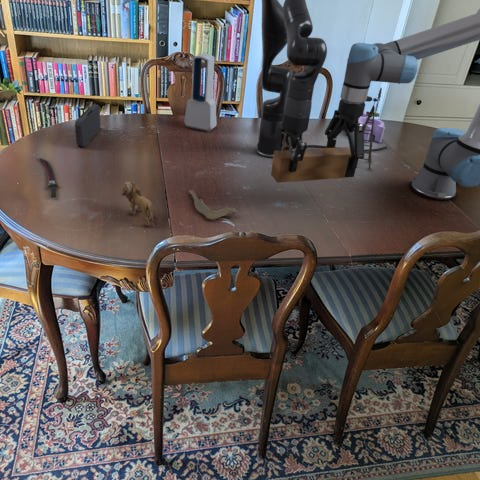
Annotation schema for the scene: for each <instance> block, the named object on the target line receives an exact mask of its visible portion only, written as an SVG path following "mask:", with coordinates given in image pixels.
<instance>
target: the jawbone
mask: <svg viewBox="0 0 480 480" xmlns="http://www.w3.org/2000/svg"><path fill="white" fill-rule="evenodd" d="M188 192H189V195H191V196H192V199H193V204H194V208H195V210H196V211H197V212H198V213H200V214H201V215H203V216H204V217H205V219H207V220H209V221H213V220H217V219H219V218H222V217H227V218H231V215H232V212H234V213H237V212H239V210H238V209H237V208H234V207H223V208H222V209H216V210H215V209H211V207H209V206H207V205H206V204H205V203H204V199H201V198H200V199H199V198H198V195H197V193H196V191H195V190H194V189H189V190H188Z"/></svg>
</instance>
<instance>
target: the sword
mask: <svg viewBox="0 0 480 480" xmlns="http://www.w3.org/2000/svg"><path fill="white" fill-rule="evenodd" d="M40 161H41V162H42V163H43V165H44V166H45V169H46V173H47V176H48V185H47V188H50V198H56V197H57V189H56V188H57V187H59V185H58V184H57V183H56V180H55V176H54V172H53V169H52V167H51V164H50V163H49V161H48V160H46V159H43V158H40Z"/></svg>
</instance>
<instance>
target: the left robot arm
mask: <svg viewBox="0 0 480 480" xmlns="http://www.w3.org/2000/svg"><path fill="white" fill-rule="evenodd" d="M313 29H314V25H313V21H312V18H311V15H310V13H309V9H308V6H307V2H306V0H284V2H283V4H281V3H280V2H279V0H261V47H262V49H261V50H262V61H261V75H260V76H261V79H260V82H261V83H260V84H261V88H262V90H263V91H265V92H268V93H269V92H270V93H274V94H275V93H276V94H279V96H277V97H274V98H269V99H266V100H264V101H263V102H262V105H261V114H260V123H259V131H258V138H257V139H258V140H257V143H256V153H257V154H258V155H259V156H262V157H264V158H265V157H266V158H273V156H274V151H279V150H289V152H290V153H291V160H290V166H289V171H290V172H296V170H297V164H298V161H302V160H303V157H304V154H305V150H306V149H307V148H326V146H327V145H321V144H320V145H319V144H308V143H307V142H304V141H303V134H304V133H305V132H307V131H308V129H309V125H310V124H309V123H310V118H311V117H310V116H311V112H312V106H313V105H312V102H313V97H314V96H313V95H314V89H315V84H316V82H317V80H318V78H319V75H320V72H321V70H322V69H323V66H324V65H325V62H326V59H327V55H328V47H327V43H326V40H324V39H323V38H321V37H310V36H311V34H312V33H313ZM285 48H286V58H287V60H288V62H289V63H290V64H291V65H293V66H299V67H301V66H302V67H305V68H304V69H303V70H302V71H300V72H296V73H293V70H292V68H290V67H287V66H280V65H274V64H273V62H274V61H275V59H276V58H277V57H278V55H279V54H280V53H281V52H282V51H283V50H284V49H285ZM335 148H339V147H338V146H335ZM387 148H388V145H386V146H382V147H378V148H372V151H371V152H375V151H382V150H384V149H387ZM294 152H295V155H294ZM364 152H369V148H368V149H367V148H366V149H364Z"/></svg>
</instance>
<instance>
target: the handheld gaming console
mask: <svg viewBox="0 0 480 480" xmlns="http://www.w3.org/2000/svg"><path fill="white" fill-rule="evenodd" d="M99 130H101V112H100V105H99V104H95V103H94V104H91V105H90V106H89V107H88V108H87V109H85V111H84V112H83V113H82V114H81V115H79V117H78V118H77V119H76V120H75V122H74V131H75V141H76V146H77V147H79V148H85V147H86V146H87V145H88V144H89V143H90V141H91V140H92V139H93V137H95V136H96V134H97V133H98V132H99Z"/></svg>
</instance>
